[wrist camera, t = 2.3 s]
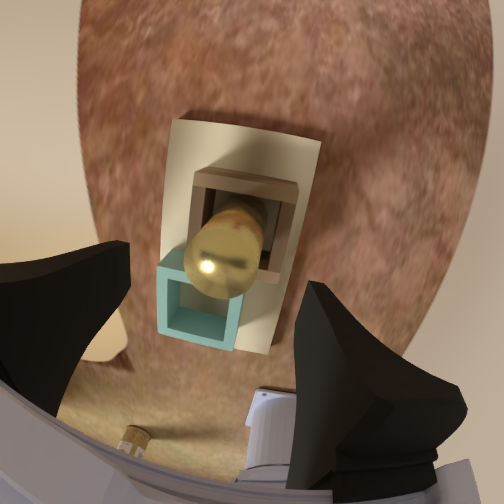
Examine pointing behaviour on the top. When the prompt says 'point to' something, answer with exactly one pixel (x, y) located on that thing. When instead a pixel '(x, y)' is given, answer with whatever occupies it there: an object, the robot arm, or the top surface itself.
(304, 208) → the board
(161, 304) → the socket
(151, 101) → the top surface
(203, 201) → the mount
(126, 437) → the spice jar
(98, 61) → the top surface
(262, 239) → the pin
